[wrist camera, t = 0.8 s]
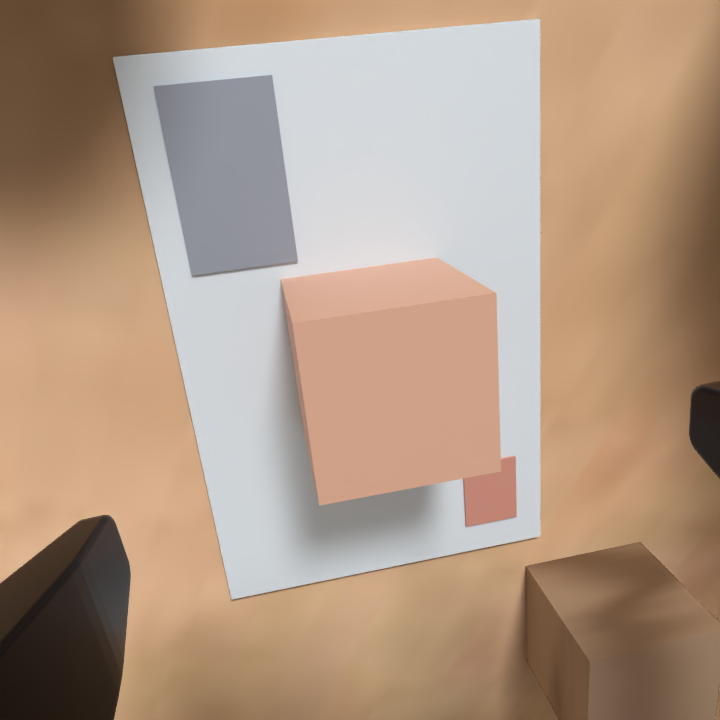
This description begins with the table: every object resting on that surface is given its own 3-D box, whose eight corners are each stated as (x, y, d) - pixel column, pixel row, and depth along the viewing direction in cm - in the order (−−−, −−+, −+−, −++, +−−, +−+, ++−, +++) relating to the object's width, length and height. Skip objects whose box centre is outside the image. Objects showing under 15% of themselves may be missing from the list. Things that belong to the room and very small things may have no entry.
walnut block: (638, 540, 25) (727, 629, 21) (632, 634, 27) (712, 735, 23) (524, 564, 25) (590, 661, 20) (526, 659, 27) (585, 768, 22)
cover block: (436, 257, 20) (496, 292, 15) (445, 400, 21) (500, 471, 17) (280, 279, 19) (292, 323, 14) (302, 424, 21) (319, 505, 16)
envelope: (537, 20, 18) (541, 18, 18) (538, 533, 24) (541, 538, 24) (113, 58, 16) (111, 56, 16) (231, 595, 23) (231, 601, 22)
